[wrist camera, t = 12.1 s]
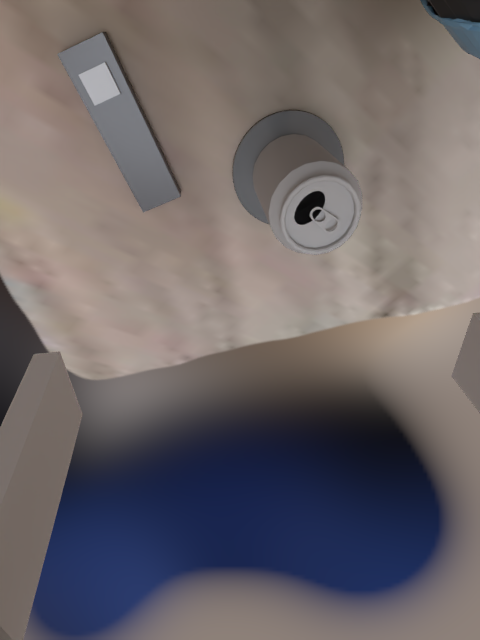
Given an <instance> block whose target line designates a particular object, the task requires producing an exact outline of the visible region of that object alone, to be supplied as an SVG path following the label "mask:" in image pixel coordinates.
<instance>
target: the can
mask: <svg viewBox="0 0 480 640" xmlns="http://www.w3.org/2000/svg"><path fill="white" fill-rule="evenodd" d="M253 184H254V190H255V192H256V194H257V197H258V199H259V201H260V204H261V206H262V208H263V211H264V213H265V215H266V218H267V220H268V222H269V225H270V227H271V229H272V231H273V233H274V235H275V237H276V239H277V240H279V241H280V242H281V243H282V244H283V245H284V246H285V247H286V248H288V249H291V250H293V251H295V252H298V253H305V254H314V255H318V254H323V253H328V252H330V251H332V250H334V249H336V248H338V247H340V246H341V245H342V244H344V243H345V242H346V241H347V240H348V239H349V238H350V237H351V235H352V234H353V232H354V231H355V229H356V228H357V225H358V222H359V219H360V216H361V211H362V192H361V189H360V186H359V183H358V180H357V179H356V178H355V177H354V175H353V174H352V173H351V172H350V171H349V170H348V169H347V168H346V167H345V166H344V165H343V164H342V163H340V162H339V161H338V160H337V159H336V158H335V157H334V156H332V155H331V154H330V153H329V152H328V151H327V150H326V149H324V148H323V147H322V146H321V145H320V144H319V143H318V142H316V141H315V140H313V139H311V138H309V137H307V136H304V135H298V134H291V135H286V136H281V137H279V138H277V139H276V140H274V141H272V142H270V143H269V144H268V145H267V146H266V147H265V148H264V149H263V150H262V151H261V153H260V155H259V157H258V159H257V161H256V163H255V165H254V171H253Z"/></svg>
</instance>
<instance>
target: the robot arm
mask: <svg viewBox="0 0 480 640" xmlns="http://www.w3.org/2000/svg"><path fill="white" fill-rule="evenodd" d="M421 3H422V4H423V6H424V8H425V9H426V11H427V12H428V14H429V15H430V16H432V17H433V18H435V19H436V20H437V21H439V22H440V23H441V24H443V25H444V27H445V28H446V29H447V31H448V32H449V33H450V34H451V36H452V37H453V38H454V40H455V41H456V42H457V43H458V45H459V46H460V47H461V48H462V49H463V50H464V51H466V52H467V53H468V54H472V55H473V56H475V57H477V58H479V59H480V0H421ZM452 377H453V379H454V380H455V381H456V383H457V384H458V385H459V387H460V388H461V389H462V390H463V392H464V393H465V395H466V396H467V397H468V398H469V400H470V401H471V402H472V404H473V405H474V406H475V408H476V409H477V410H478V412H479V413H480V313H473V315H472V318H471V321H470V324H469V326H468V329H467V332H466V335H465V338H464V341H463V344H462V347H461V350H460V353H459V356H458V359H457V362H456V364H455V368H454V370H453V373H452ZM81 418H82V411H81V409H80V406H79V403H78V401H77V397H76V395H75V392H74V390H73V386H72V384H71V381H70V378H69V375H68V373H67V370H66V367H65V365H64V362H63V359H62V356H61V354H60V352H51V353H41V354H34V355H33V357H32V360H31V362H30V364H29V366H28V368H27V370H26V373H25V375H24V377H23V379H22V381H21V384H20V386H19V388H18V390H17V392H16V394H15V397H14V399H13V401H12V403H11V405H10V407H9V409H8V412H7V414H6V416H5V418H4V420H3V423H2V425H1V427H0V640H23V638H24V634H25V631H26V627H27V623H28V619H29V616H30V612H31V608H32V604H33V600H34V597H35V593H36V589H37V585H38V581H39V578H40V574H41V570H42V566H43V562H44V558H45V555H46V551H47V547H48V543H49V540H50V536H51V532H52V528H53V524H54V520H55V517H56V513H57V509H58V505H59V501H60V498H61V494H62V490H63V487H64V483H65V479H66V475H67V471H68V467H69V464H70V460H71V456H72V452H73V448H74V445H75V441H76V437H77V433H78V429H79V426H80V422H81Z"/></svg>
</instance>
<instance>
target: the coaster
mask: <svg viewBox="0 0 480 640" xmlns="http://www.w3.org/2000/svg"><path fill="white" fill-rule="evenodd" d="M291 134H298V135H304V136H307V137H309V138H311V139H313V140H315V141H316V142H318V143H319V144H320V145H321V146H322V147H323V148H324V149H326V150H327V151H328V152H329V153H330V154H331V155H332V156H334V157H335V158H336V159H337V160H338V161H339V162H340V163H342V164H343V165H344V157H343V151H342V147H341V144H340V141H339V139H338V137H337V135H336V134H335V132H334V131H333V130H332V128H331V127H330V126H329V125H328V124H327V123H326V122H324V121H323V120H322V119H320V118H319V117H317V116H315V115H313V114H311V113H308V112H305V111H299V110H287V111H280V112H277V113H274V114H271V115H269V116H267V117H265V118H263V119H262V120H260V121H259V122H258V123H256V124H255V125H254V126H253V127H252V128H251V129H250V130H249V131H248V132H247V133H246V135H245V136H244V137H243V139H242V141H241V142H240V144H239V146H238V149H237V151H236V154H235V158H234V162H233V183H234V187H235V190H236V193H237V196H238V198H239V200H240V202H241V203H242V205H243V206H244V208H245V209H246V210H247V211H248V212H249V213H250V214H251V215H252V216H254V217H255V218H257V219H258V220H260V221H262V222H265V223H267V224H269V222H268V220H267V218H266V215H265V213H264V211H263V208H262V206H261V204H260V201H259V199H258V197H257V194H256V192H255V190H254V184H253V171H254V165H255V163H256V161H257V159H258V157H259V155H260V153H261V151H262V150H263V149H264V148H265V147H266V146H267V145H268V144H269V143H270V142H272V141H274V140H276V139H277V138H279V137H281V136H286V135H291Z"/></svg>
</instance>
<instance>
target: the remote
mask: <svg viewBox="0 0 480 640" xmlns="http://www.w3.org/2000/svg"><path fill="white" fill-rule="evenodd" d="M58 56H59V58H60V60H61V62H62V64H63V66H64V67H65V69H66V71H67V73H68V75H69V77H70V78H71V80H72V82H73V84H74V86H75V88H76V89H77V91H78V93H79V95H80V97H81V99H82V100H83V102H84V104H85V106H86V108H87V110H88V112H89V113H90V115H91V117H92V119H93V121H94V123H95V124H96V126H97V128H98V130H99V132H100V134H101V135H102V137H103V139H104V141H105V143H106V145H107V146H108V148H109V150H110V152H111V154H112V156H113V158H114V159H115V161H116V163H117V165H118V167H119V169H120V170H121V172H122V174H123V176H124V178H125V180H126V181H127V183H128V185H129V187H130V189H131V191H132V192H133V194H134V196H135V198H136V200H137V202H138V204H139V205H140V207H141V209H142V211H143V212H145V211H147V210H150V209H152V208H155V207H157V206H159V205H162V204H164V203H166V202H169V201H171V200H173V199H176V198H178V197H181V191H180V189H179V187H178V185H177V182H176V180H175V178H174V176H173V174H172V172H171V170H170V168H169V165H168V163H167V161H166V159H165V157H164V155H163V153H162V151H161V149H160V146H159V144H158V142H157V140H156V138H155V136H154V134H153V132H152V129H151V127H150V125H149V123H148V121H147V119H146V117H145V115H144V113H143V110H142V108H141V106H140V104H139V102H138V100H137V98H136V96H135V93H134V91H133V89H132V87H131V85H130V83H129V81H128V79H127V77H126V74H125V72H124V70H123V68H122V66H121V64H120V62H119V60H118V57H117V55H116V53H115V51H114V49H113V47H112V45H111V43H110V41H109V38H108V36H107V34H106V32H102V33H100V34H98V35H96V36H94V37H92V38H90V39H87V40H85V41H83V42H81V43H79V44H77V45H75V46H73V47H71V48H69V49H67V50H65V51H63V52H61V53H59V54H58Z"/></svg>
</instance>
